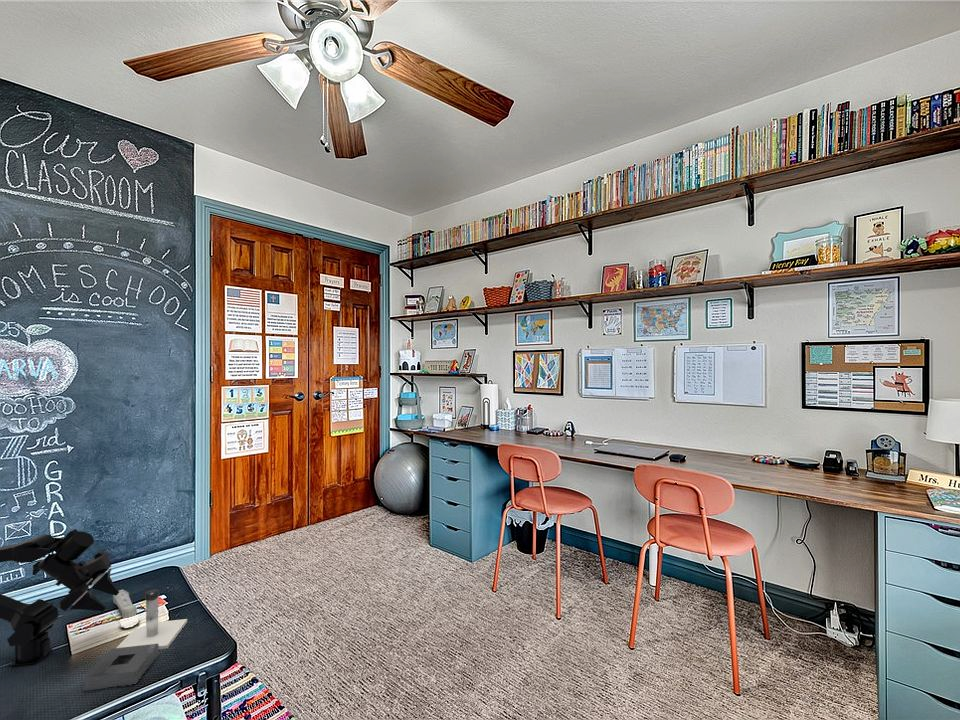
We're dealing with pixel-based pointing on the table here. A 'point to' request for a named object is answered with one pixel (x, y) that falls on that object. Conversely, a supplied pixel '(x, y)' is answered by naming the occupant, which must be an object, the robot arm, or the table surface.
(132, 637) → the pad
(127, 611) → the grey rounded bar
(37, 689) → the table surface
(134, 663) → the grey square frame block
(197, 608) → the table surface
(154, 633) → the black knobbed metal rod
